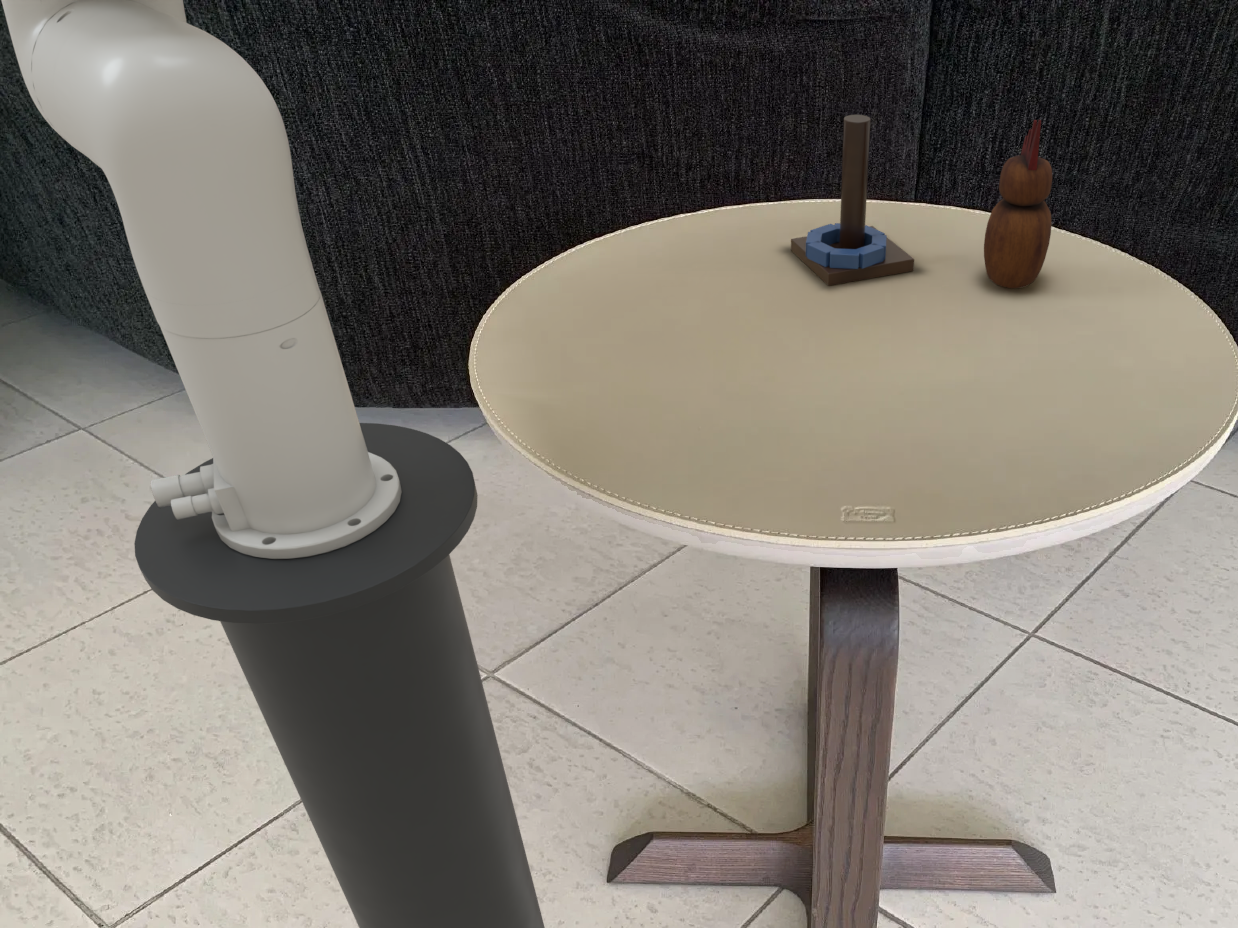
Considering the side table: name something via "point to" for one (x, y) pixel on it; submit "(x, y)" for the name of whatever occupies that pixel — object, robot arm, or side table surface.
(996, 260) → the wooden figurine
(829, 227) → the ring
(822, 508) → the side table surface
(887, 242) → the post
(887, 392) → the side table surface
